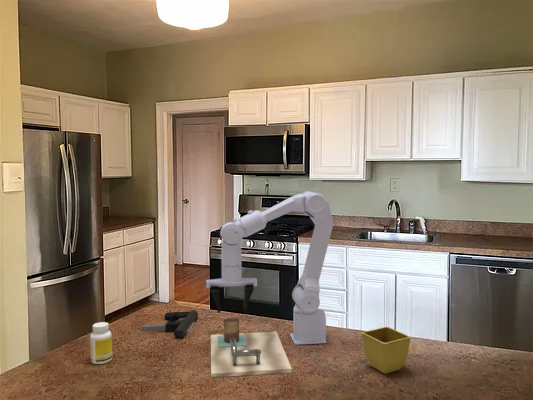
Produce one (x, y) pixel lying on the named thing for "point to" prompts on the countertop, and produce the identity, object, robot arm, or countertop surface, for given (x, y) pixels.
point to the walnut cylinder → (231, 329)
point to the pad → (223, 344)
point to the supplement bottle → (101, 343)
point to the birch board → (270, 356)
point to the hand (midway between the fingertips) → (232, 311)
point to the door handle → (175, 323)
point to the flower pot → (386, 348)
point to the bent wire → (243, 352)
